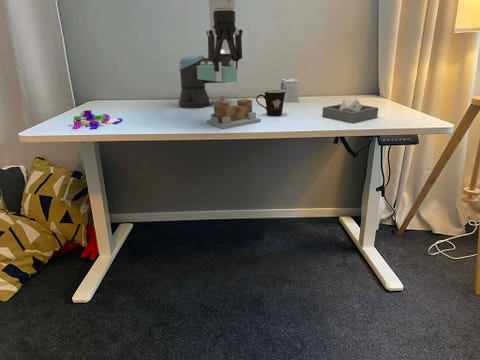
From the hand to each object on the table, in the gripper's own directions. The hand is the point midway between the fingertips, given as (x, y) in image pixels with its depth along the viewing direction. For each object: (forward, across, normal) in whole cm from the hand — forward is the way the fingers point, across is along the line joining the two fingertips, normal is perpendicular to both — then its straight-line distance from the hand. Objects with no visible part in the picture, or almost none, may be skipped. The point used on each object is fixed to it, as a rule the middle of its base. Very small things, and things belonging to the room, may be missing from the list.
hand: (226, 80), depth 133 cm
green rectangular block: (0, -1, +6) cm, 6 cm away
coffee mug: (+17, +26, +6) cm, 32 cm away
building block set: (+18, -39, +39) cm, 58 cm away
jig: (+17, +5, +4) cm, 18 cm away
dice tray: (+17, +48, -18) cm, 54 cm away
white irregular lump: (+17, +48, -18) cm, 54 cm away
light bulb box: (+17, +54, +27) cm, 63 cm away
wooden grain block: (+16, +5, +4) cm, 17 cm away
